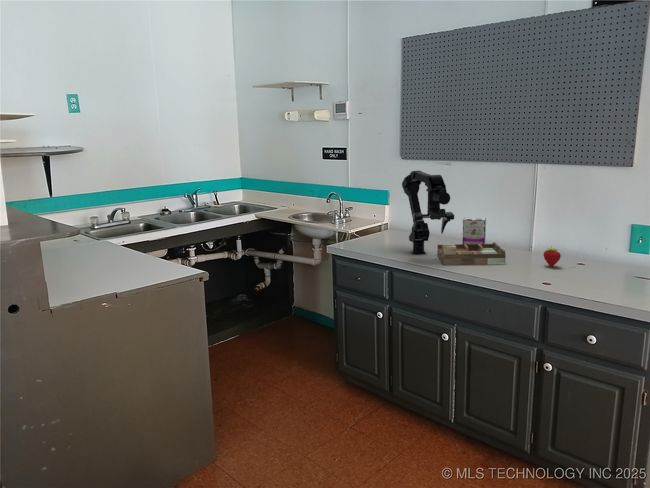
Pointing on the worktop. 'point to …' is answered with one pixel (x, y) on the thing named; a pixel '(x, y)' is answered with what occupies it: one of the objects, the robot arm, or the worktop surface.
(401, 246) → the worktop surface
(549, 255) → the strawberry
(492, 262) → the brown wooden tray
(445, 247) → the birch block
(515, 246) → the worktop surface
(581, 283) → the worktop surface
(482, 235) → the candy bar box
